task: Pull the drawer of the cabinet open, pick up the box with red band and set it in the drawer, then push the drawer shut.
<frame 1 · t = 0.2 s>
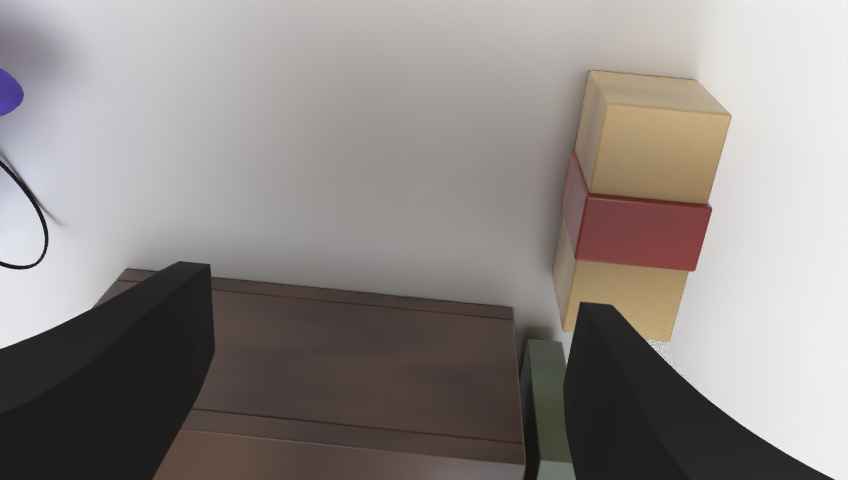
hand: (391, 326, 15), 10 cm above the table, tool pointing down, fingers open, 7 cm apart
box with red band: (619, 184, 24), on the table
cabinet: (315, 427, 29), on the table
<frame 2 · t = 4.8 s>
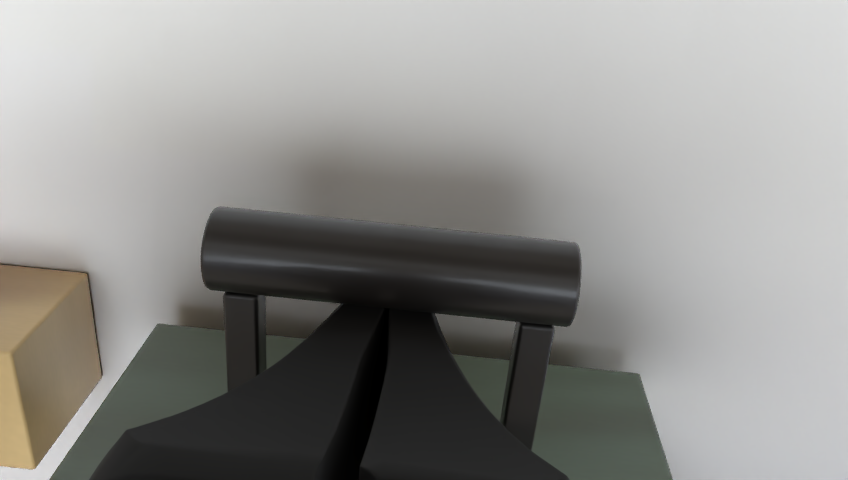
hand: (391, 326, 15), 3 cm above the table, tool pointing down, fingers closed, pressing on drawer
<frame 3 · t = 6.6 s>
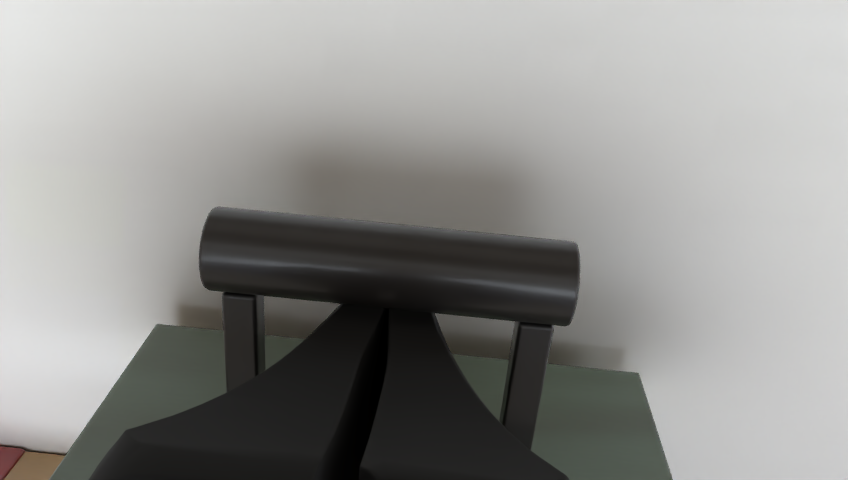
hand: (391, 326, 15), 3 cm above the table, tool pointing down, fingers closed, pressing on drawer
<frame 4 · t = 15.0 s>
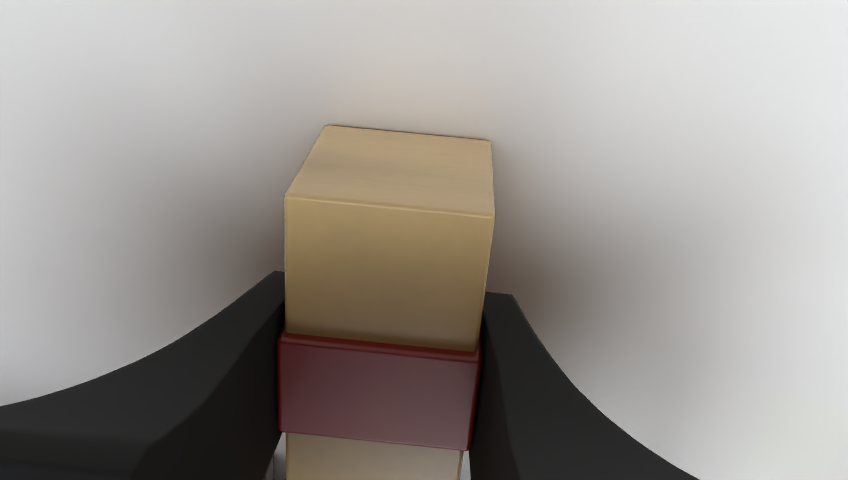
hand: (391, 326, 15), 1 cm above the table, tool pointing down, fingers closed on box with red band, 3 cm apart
box with red band: (396, 289, 16), on the table, touching gripper
when the fingers open (3 cm above the table, at t = 19.6 s): box with red band stays where it is, resting on drawer.
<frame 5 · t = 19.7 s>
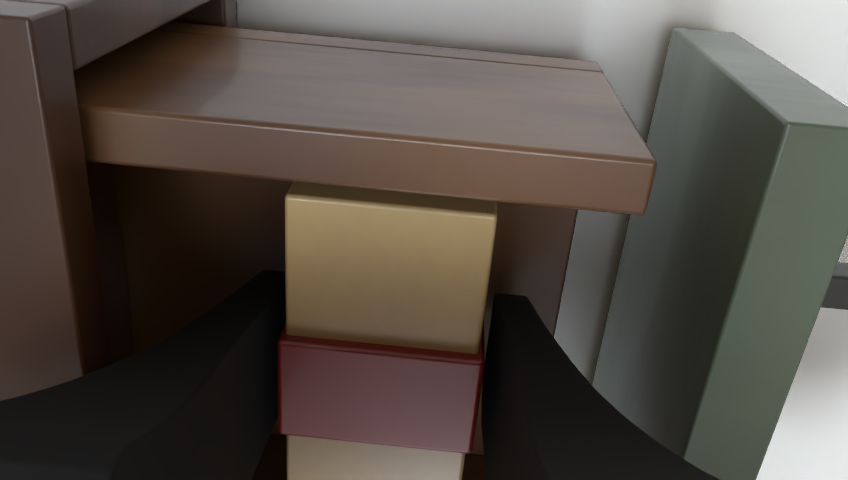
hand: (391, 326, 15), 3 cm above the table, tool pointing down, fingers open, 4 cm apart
box with red band: (397, 290, 16), point 2 cm above the table, touching drawer
drawer: (500, 352, 14), point 4 cm above the table, slide at 8.5 cm, touching box with red band
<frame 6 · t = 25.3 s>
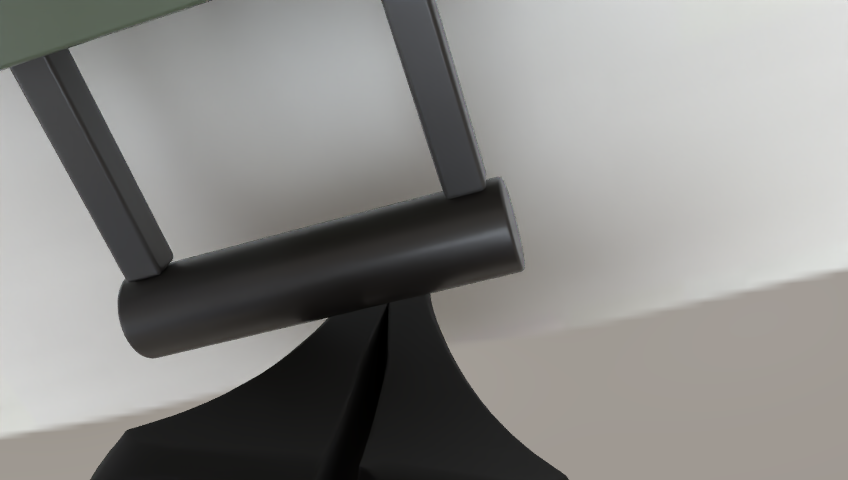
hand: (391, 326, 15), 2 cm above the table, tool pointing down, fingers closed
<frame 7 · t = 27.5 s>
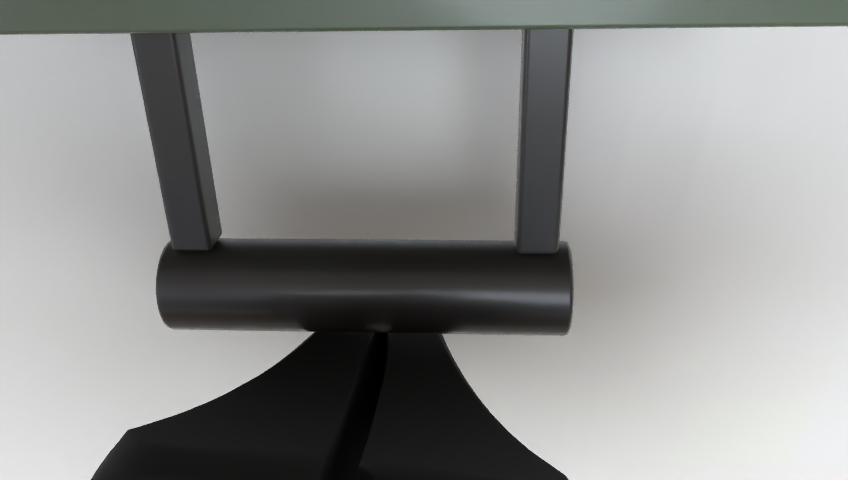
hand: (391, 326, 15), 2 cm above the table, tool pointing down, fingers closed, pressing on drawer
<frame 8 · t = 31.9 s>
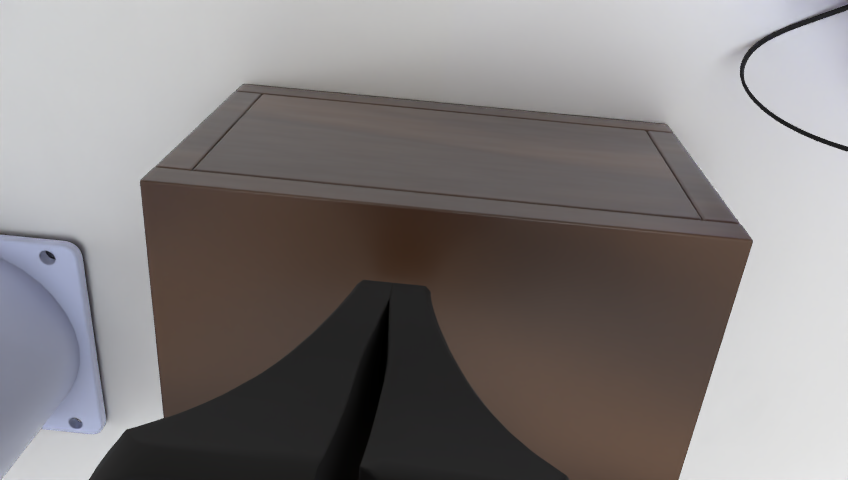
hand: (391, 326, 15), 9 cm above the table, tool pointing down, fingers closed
cabinet: (434, 300, 25), on the table
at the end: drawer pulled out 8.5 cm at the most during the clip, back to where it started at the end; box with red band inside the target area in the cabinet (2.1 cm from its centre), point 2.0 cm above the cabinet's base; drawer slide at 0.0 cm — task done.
